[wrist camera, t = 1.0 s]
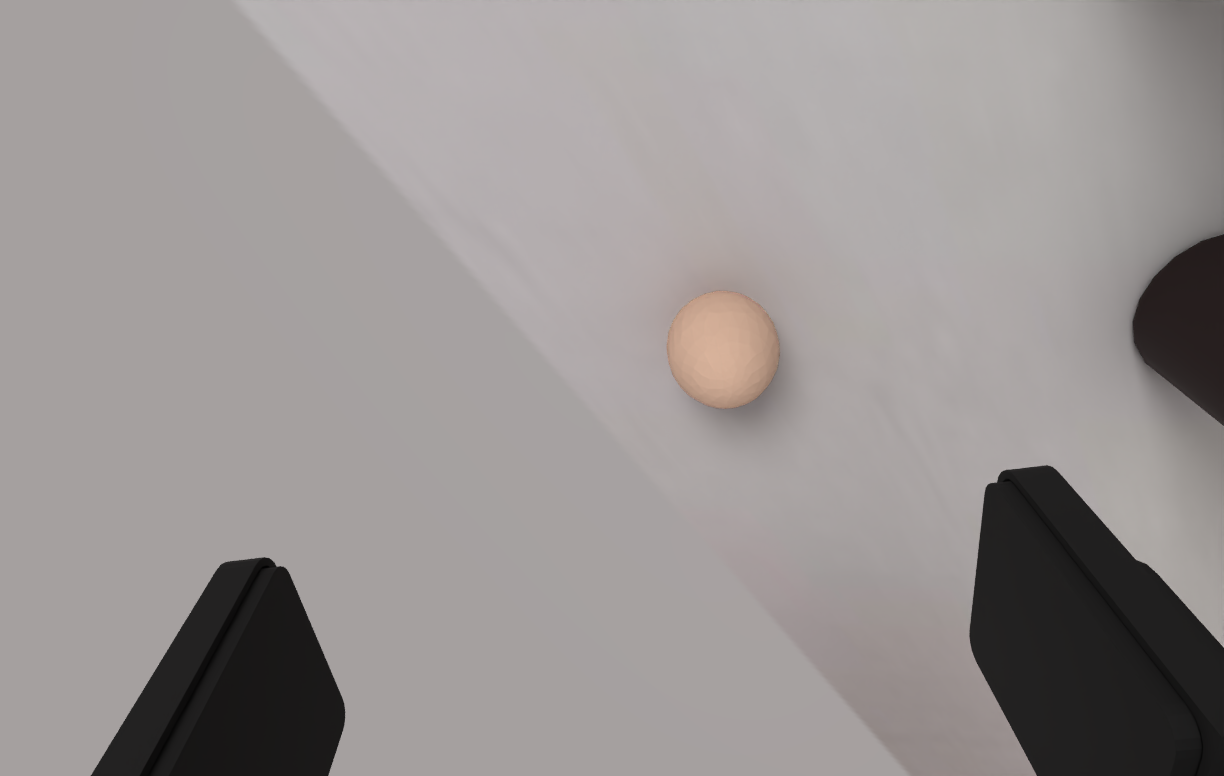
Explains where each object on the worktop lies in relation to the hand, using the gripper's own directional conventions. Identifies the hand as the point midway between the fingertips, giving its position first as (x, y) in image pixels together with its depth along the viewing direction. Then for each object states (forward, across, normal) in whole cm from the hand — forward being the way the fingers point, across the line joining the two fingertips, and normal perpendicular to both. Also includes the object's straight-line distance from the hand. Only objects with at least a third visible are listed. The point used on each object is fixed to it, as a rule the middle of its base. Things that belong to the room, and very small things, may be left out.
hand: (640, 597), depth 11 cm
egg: (+24, -4, +7) cm, 25 cm away
